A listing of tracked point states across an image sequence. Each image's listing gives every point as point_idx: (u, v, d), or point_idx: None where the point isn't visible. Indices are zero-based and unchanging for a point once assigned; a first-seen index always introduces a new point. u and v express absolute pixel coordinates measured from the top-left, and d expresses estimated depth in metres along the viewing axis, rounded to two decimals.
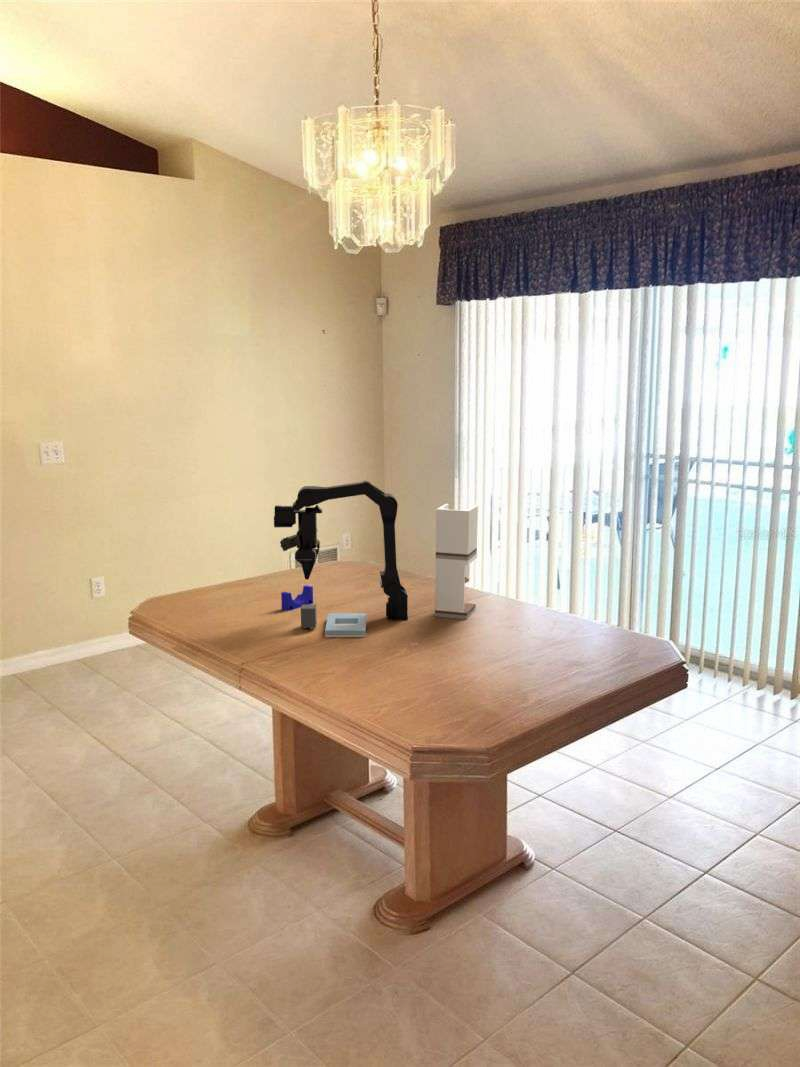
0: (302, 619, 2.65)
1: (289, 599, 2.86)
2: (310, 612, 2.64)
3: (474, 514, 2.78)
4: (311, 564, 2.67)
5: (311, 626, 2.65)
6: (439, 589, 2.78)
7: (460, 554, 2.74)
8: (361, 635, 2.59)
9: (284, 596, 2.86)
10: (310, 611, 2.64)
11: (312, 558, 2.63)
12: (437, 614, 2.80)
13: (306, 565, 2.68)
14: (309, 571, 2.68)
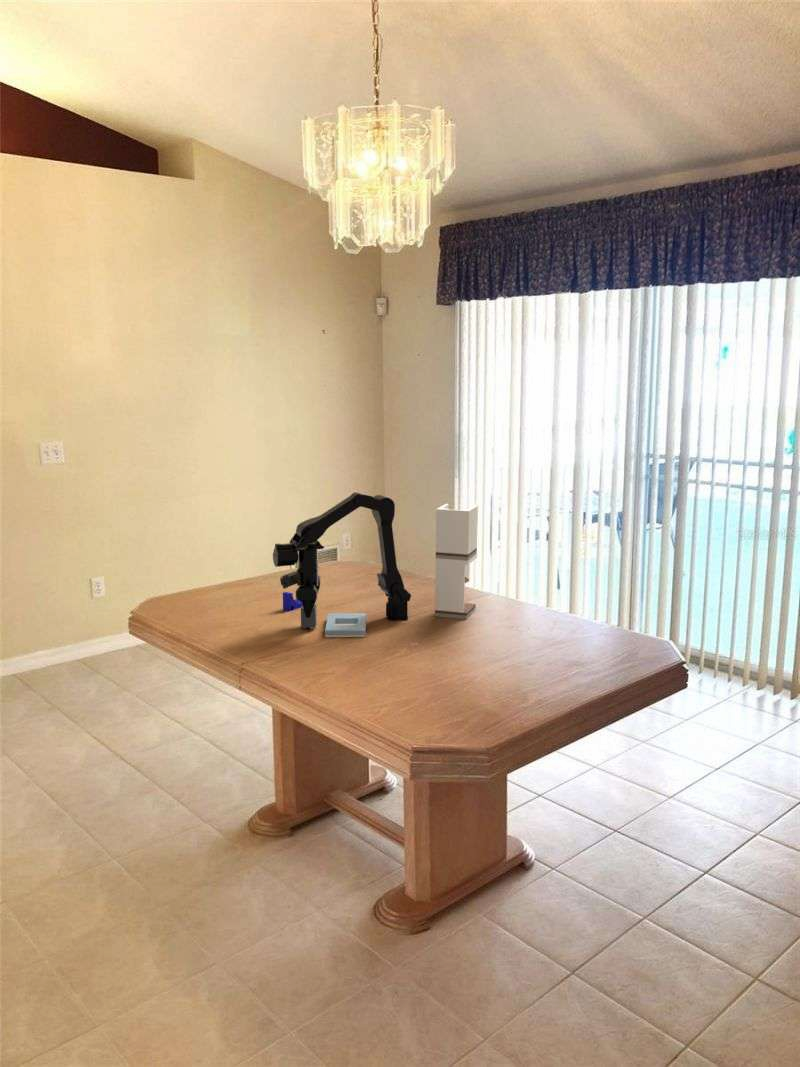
0: (302, 619, 2.65)
1: (290, 599, 2.85)
2: None
3: (474, 514, 2.78)
4: (312, 602, 2.60)
5: (311, 626, 2.65)
6: (439, 589, 2.78)
7: (460, 554, 2.74)
8: (361, 635, 2.59)
9: (285, 596, 2.86)
10: None
11: (313, 597, 2.56)
12: (437, 614, 2.80)
13: (307, 603, 2.60)
14: (310, 609, 2.61)
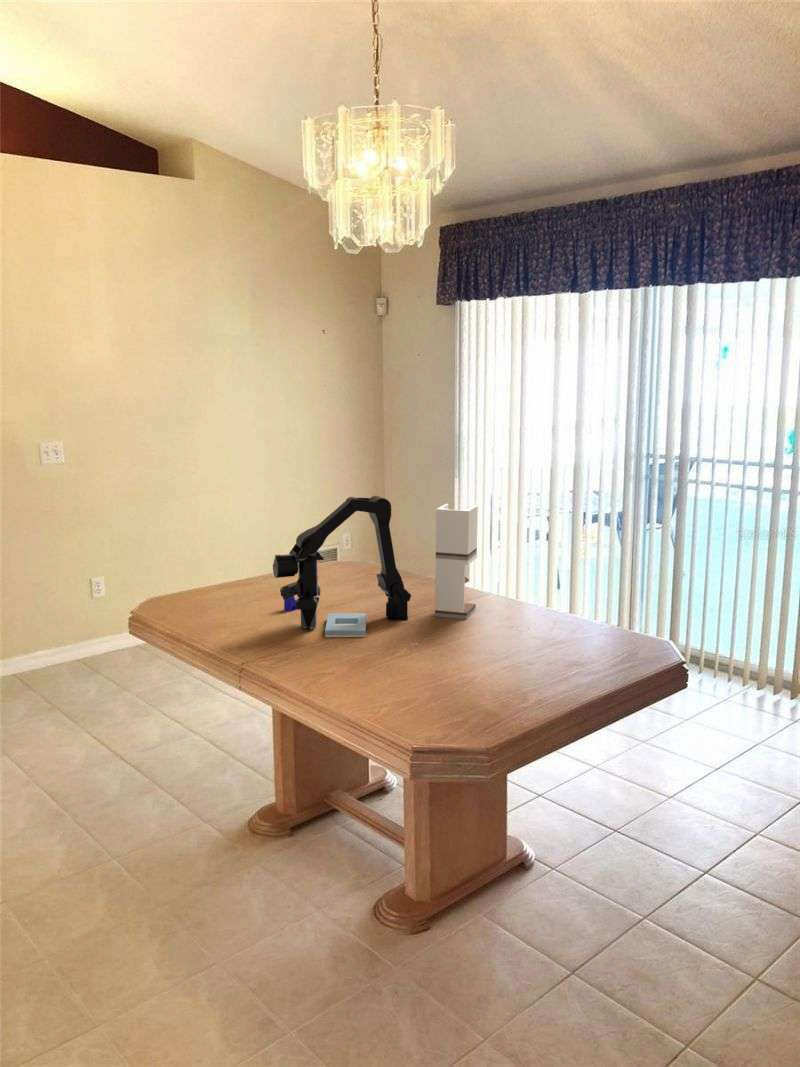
0: (302, 619, 2.65)
1: (292, 599, 2.85)
2: None
3: (474, 514, 2.78)
4: (312, 611, 2.62)
5: (311, 626, 2.65)
6: (439, 589, 2.78)
7: (460, 554, 2.74)
8: (361, 635, 2.59)
9: None
10: None
11: (313, 608, 2.57)
12: (437, 614, 2.80)
13: (307, 612, 2.63)
14: (310, 618, 2.64)
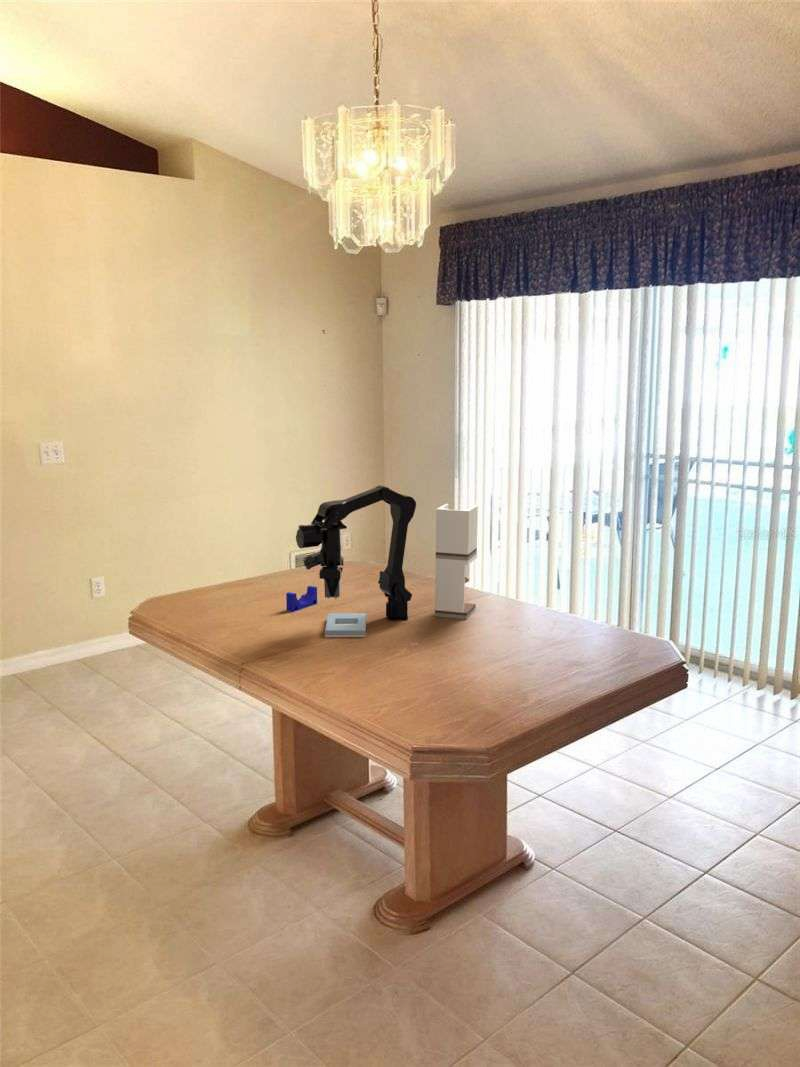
0: (326, 589, 2.63)
1: (294, 600, 2.85)
2: None
3: (474, 514, 2.78)
4: (336, 581, 2.61)
5: (335, 596, 2.64)
6: (439, 589, 2.78)
7: (460, 554, 2.74)
8: (361, 635, 2.59)
9: (289, 597, 2.85)
10: None
11: (337, 577, 2.55)
12: (437, 614, 2.80)
13: (331, 582, 2.62)
14: (334, 588, 2.62)
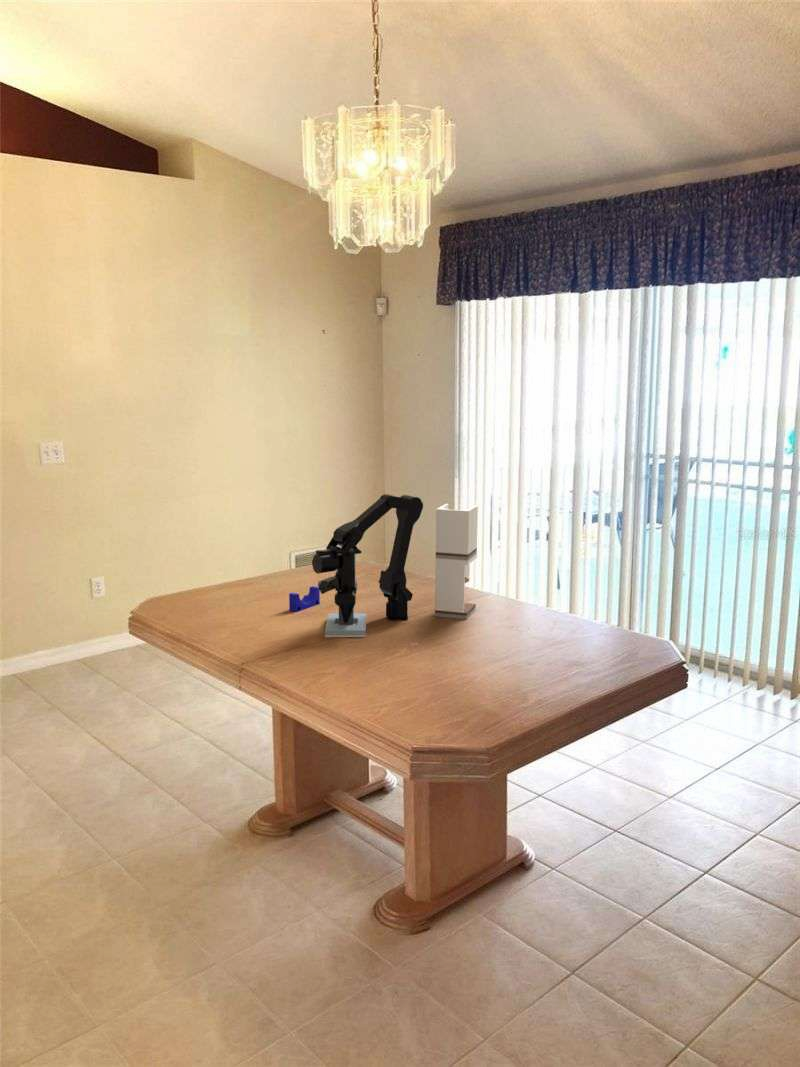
0: (340, 618, 2.65)
1: (297, 600, 2.84)
2: None
3: (474, 514, 2.78)
4: (350, 607, 2.60)
5: None
6: (439, 589, 2.78)
7: (460, 554, 2.74)
8: (361, 635, 2.59)
9: (292, 597, 2.85)
10: None
11: (352, 602, 2.57)
12: (437, 614, 2.80)
13: (345, 608, 2.61)
14: (348, 614, 2.61)
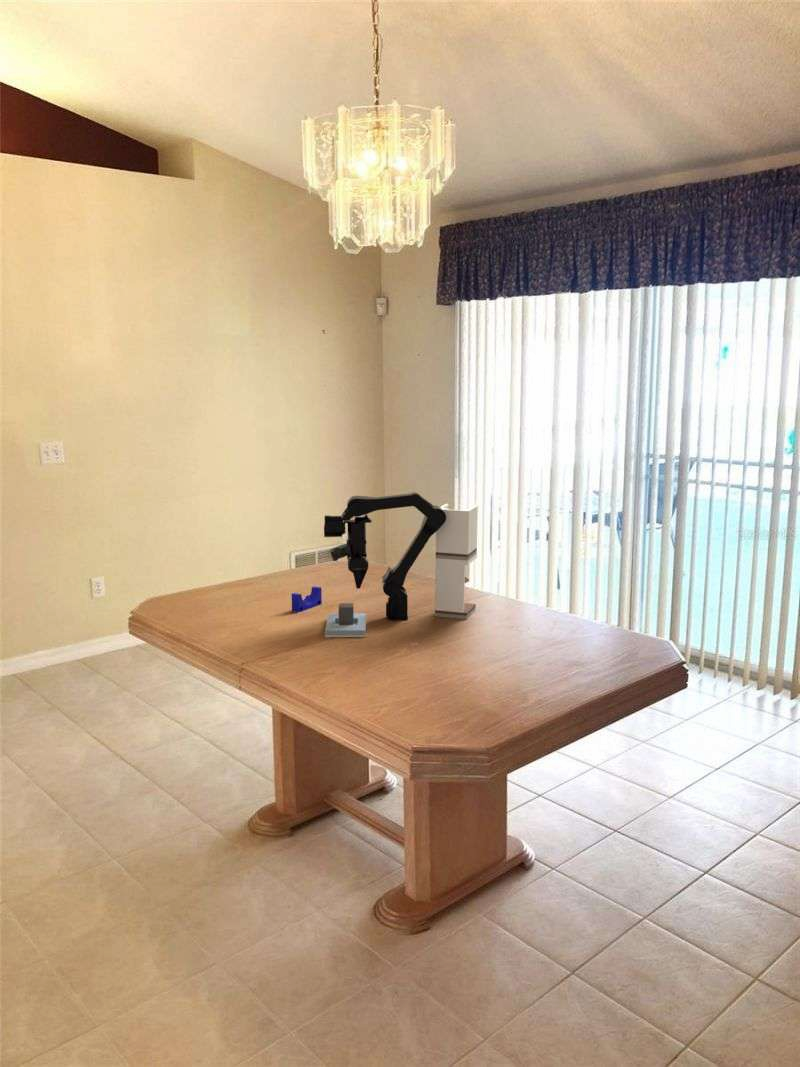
0: (340, 618, 2.65)
1: (300, 600, 2.84)
2: (348, 611, 2.65)
3: (474, 514, 2.78)
4: (363, 573, 2.69)
5: None
6: (439, 589, 2.78)
7: (460, 554, 2.74)
8: (361, 635, 2.59)
9: (294, 597, 2.84)
10: (348, 609, 2.64)
11: (365, 567, 2.66)
12: (437, 614, 2.80)
13: (358, 574, 2.70)
14: (361, 580, 2.70)
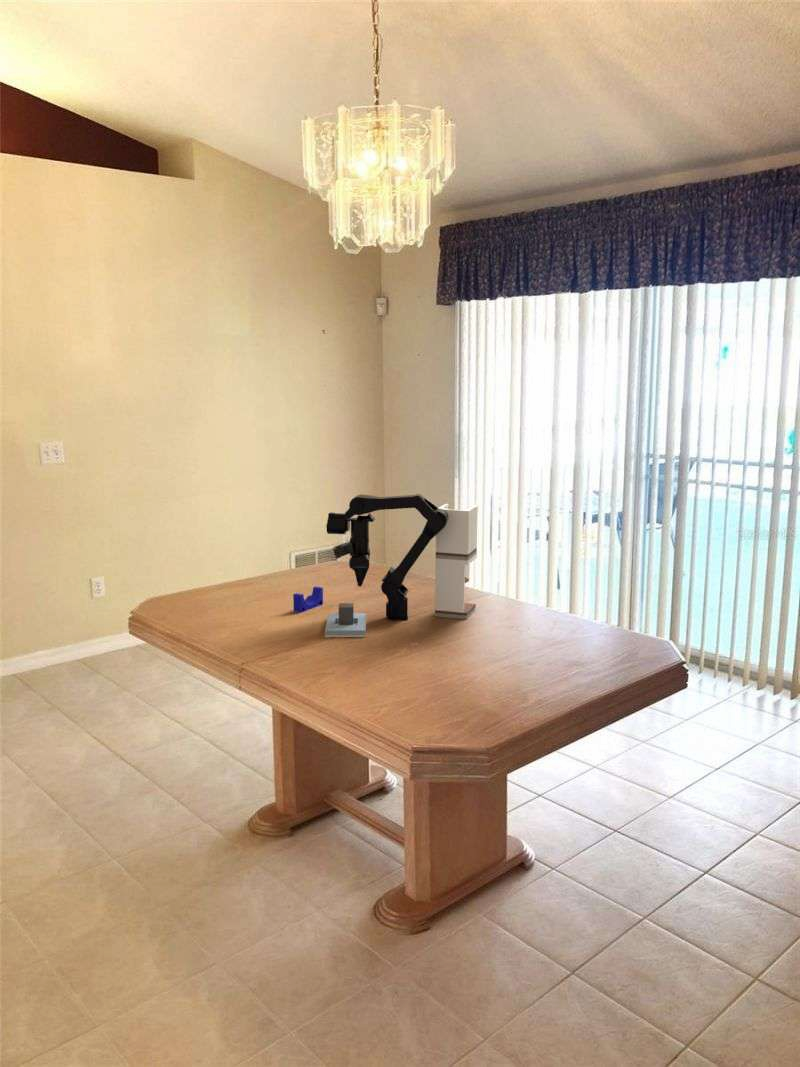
0: (340, 618, 2.65)
1: (301, 600, 2.84)
2: (348, 611, 2.65)
3: (474, 514, 2.78)
4: (364, 571, 2.71)
5: None
6: (439, 589, 2.78)
7: (460, 554, 2.74)
8: (361, 635, 2.59)
9: (296, 598, 2.84)
10: (348, 609, 2.64)
11: (366, 565, 2.68)
12: (437, 614, 2.80)
13: (359, 572, 2.72)
14: (362, 578, 2.73)
